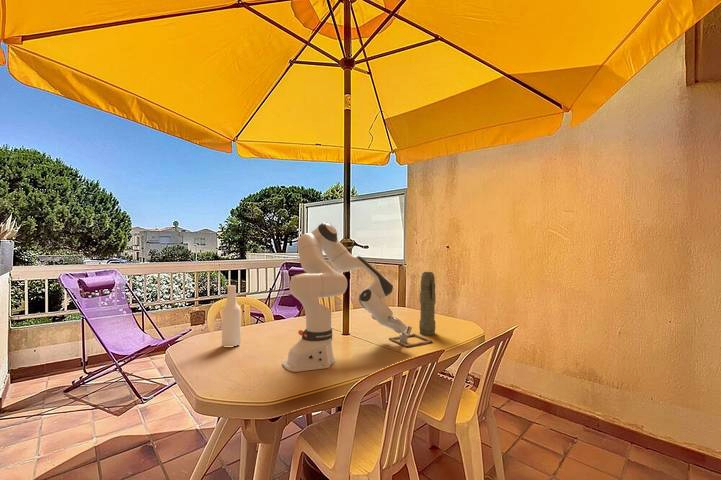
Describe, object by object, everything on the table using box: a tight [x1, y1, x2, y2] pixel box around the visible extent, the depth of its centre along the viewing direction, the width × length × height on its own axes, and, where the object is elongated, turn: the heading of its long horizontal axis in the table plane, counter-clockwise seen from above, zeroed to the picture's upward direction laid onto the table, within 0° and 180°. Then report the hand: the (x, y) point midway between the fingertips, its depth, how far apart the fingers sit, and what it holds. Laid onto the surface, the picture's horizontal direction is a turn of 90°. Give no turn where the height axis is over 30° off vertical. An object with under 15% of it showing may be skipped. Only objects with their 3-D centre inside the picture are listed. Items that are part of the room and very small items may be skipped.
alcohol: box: [221, 284, 242, 347], centre depth 171 cm, size 9×9×30 cm
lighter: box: [399, 325, 413, 344], centre depth 180 cm, size 7×2×8 cm, turn 122°
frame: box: [388, 333, 433, 349], centre depth 181 cm, size 17×15×1 cm
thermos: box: [418, 271, 437, 336], centre depth 197 cm, size 9×12×35 cm
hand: (399, 331), depth 178 cm, fingers closed
